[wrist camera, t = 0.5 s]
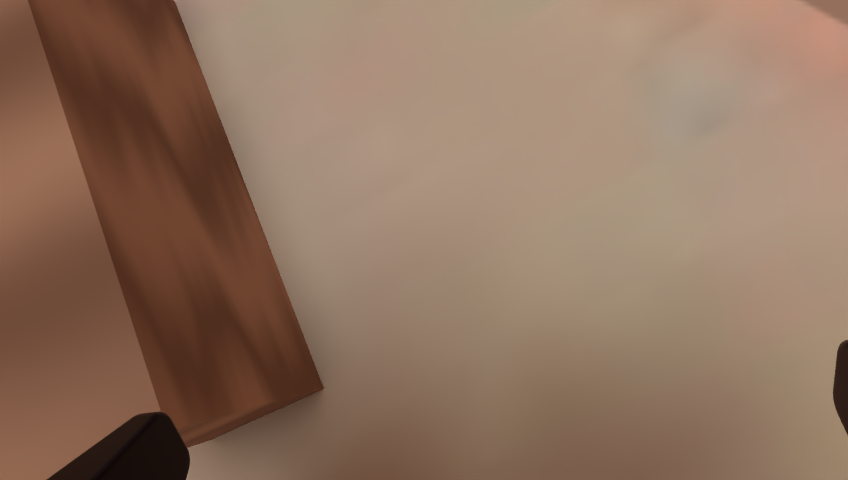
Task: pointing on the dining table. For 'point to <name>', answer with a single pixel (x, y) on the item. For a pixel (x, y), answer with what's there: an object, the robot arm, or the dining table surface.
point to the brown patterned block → (126, 241)
